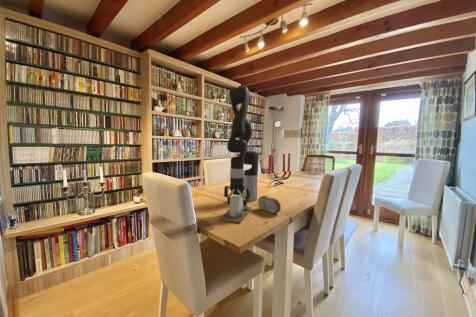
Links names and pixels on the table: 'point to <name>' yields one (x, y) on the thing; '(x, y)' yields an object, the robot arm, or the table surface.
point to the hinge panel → (238, 218)
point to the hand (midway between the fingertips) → (236, 205)
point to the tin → (269, 204)
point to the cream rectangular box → (236, 205)
